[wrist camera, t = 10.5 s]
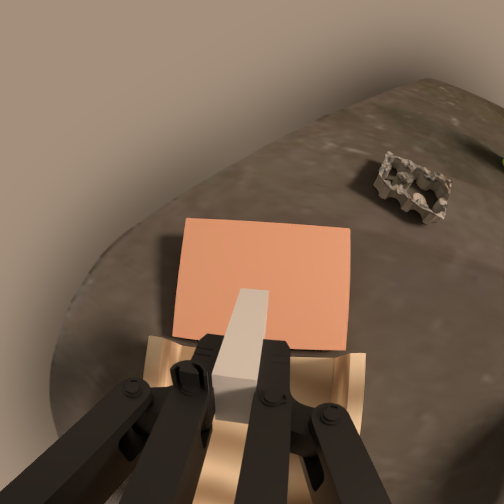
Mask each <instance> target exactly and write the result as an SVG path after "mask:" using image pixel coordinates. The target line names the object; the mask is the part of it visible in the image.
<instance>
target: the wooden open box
mask: <svg viewBox="0 0 504 504" xmlns="http://www.w3.org/2000/svg"><path fill="white" fill-rule="evenodd" d="M195 349H196V348H195V347H188V346H182V345H179V344H177V343H175V342H172V341H170V340H167V339H165V338H161V337H156V336H150V335H149V339H148V346H147V352H146V359H145V367H144V374H143V380H145V381H146V382H147V383H148V384H149V386H150V387H167V386H171V385H173V383H172V379H171V374H170V368H171V367H172V366H173V364H175V363H177V362H179V361H184V360H191V358H192V356H193V355H194V351H195ZM365 360H366V353H350V354H346V355H343V356H339V357H336V358H308V357H290V393H291V395H292V397H293V398H294V399H295V400H296V401H298V402H299V403H301V404H304V405H307V406H310V407H313V408H315V407H317V406H318V405H320V404H323V403H335V404H339V405H341V406H342V407H344V408H345V409H346V410H347V412H348V413H349V415H350V417H351V419H352V421H353V423H354V425H355V427H356V429H357V431H358V433H359V436H360V428H361V419H362V409H363V397H364V382H365ZM212 424H213V431H212V435H211V438H210V442H209V446H208V449H207V453H206V457H205V460H204V464H203V467H202V471H201V475H200V478H199V482H198V485H197V489H196V493H195V496H194V500H193V503H192V504H234V501H235V495H236V490H237V485H238V480H239V474H240V469H241V463H242V458H243V452H244V446H245V441H246V435H247V429H248V424H244V423H236V422H229V421H222V420H216V419H215V415H214V418H213V422H212ZM287 504H313V503H312V500H311V497H310V493H309V490H308V486H307V483H306V480H305V476H304V473H303V469H302V466H301V463H300V459H299V456H298V455H296V454H293V453H290V460H289V478H288V494H287Z"/></svg>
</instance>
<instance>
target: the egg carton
mask: <svg viewBox="0 0 504 504" xmlns="http://www.w3.org/2000/svg"><path fill="white" fill-rule="evenodd" d="M383 161H384V162H383V163H382V166H381V167H380V169H379V174H378V177H377V179H376V181H375V183H374V187H375V188H376V189H377V190H378V192H379V197H381V198H383V199H386V198H388V197H394V198H395V199H397V200H398V201H399V202H400V205H401V209H402V210H404V211H405V212H408V211H409V210H416V211H417V212H419V213H420V215H421V217H422V222H423V223H425V224H427V225H429V224H430V222H435V223H436V222H438V220H439V219H440V218H442V219H443V220H444V217H445V213H446V212H445V211H446V208H447V200H448V197H449V194H450V190H451V185H452V184H451V183H452V181H451V180H449V179H448V178H447V177H446V176H443V175H442V174H441V173H438V172H436V171H434V172H430V171H429V170H427V169H426V168H425V167H420V166H418V165H416V164H414V163H413V162H412V161H410V160H407V159H404V158H400V157H398V156H395V155H394V154H393V153H391V152H387V154H386V156H385V159H384V160H383ZM392 167H393V168H395V169H397V175H396V177H395V178H394V179H393V182H392V185H391V182H390V181H389V180H385V179H386V178H387V176H388V174H389V172H390V170H391V168H392ZM413 179H414V180H416V182H417V185H418V186H419V187H420V188H421V189H422V190H425V191H427V190H429V189H431V190H432V191H434V192H435V195H436V197H437V198H438V200H437V202H436V203H435V204H434V205H433V207H432V210H430V209H429V208H428V204H426V200H425V198H424V196H422V195H421V194H420V193H414V194H413V199H412V198H411V196H410V195H409V194H407V193H408V192H407V190H408V188H409V187H410V185H411V184H412V182H413ZM409 197H410V198H411V199H409Z"/></svg>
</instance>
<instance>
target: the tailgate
mask: <svg viewBox="0 0 504 504" xmlns="http://www.w3.org/2000/svg"><path fill="white" fill-rule="evenodd" d="M241 288H246V289H258V290H269V297H268V310H267V322H266V333H265V339H269V340H281V341H286V342H287V344H288V346H289V347H290V349H308V350H346V339H347V326H348V311H349V290H350V229H348V228H337V227H325V226H312V225H299V224H285V223H270V222H254V221H236V220H217V219H195V218H186V224H185V230H184V237H183V244H182V251H181V259H180V267H179V275H178V283H177V292H176V302H175V312H174V324H173V336H174V337H180V338H187V339H194V340H200V339H201V338H202V337H203V336H205V335H206V334H207V333H209V334H216V335H224V336H225V333H226V330H227V327H228V324H229V321H230V318H231V316H232V313H233V310H234V307H235V304H236V301H237V298H238V295H239V292H240V289H241Z"/></svg>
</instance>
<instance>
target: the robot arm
mask: <svg viewBox="0 0 504 504" xmlns="http://www.w3.org/2000/svg"><path fill="white" fill-rule="evenodd" d="M268 297H269V290H258V289H246V288H241V289H240V292H239V295H238V298H237V301H236V304H235V307H234V310H233V313H232V316H231V318H230V321H229V324H228V327H227V330H226V333H225V336H224V335H216V334H209V333H207V334H206V335H205V336H203V337H202V338H201V339H200V340H199V342H198V345H197V347H196V349H195V351H194V355H193V356H192V358H191V360H184V361H179V362H177V363H175V364H173V366H172V367H171V368H170V374H171V379H172V383H173V385H171V386H167V387H150V386H149V384H148V383H147V382H146V381H145V380H143V379H140V378H129V379H125V380H124V381H122V382H120V383H119V384H118V385H117V386H116V387H115V388H114V389H113V390H112V391H111V392H109V393H108V394H107V395H106V396H105V397H104V398H103V399H102V400H101V401H100V402H99V403H97V404H96V405H95V406H94V407H93V408H92V409H91V410H90V411H89V412H88V413H87V414H85V415H84V416H83V417H82V418H81V419H80V420H79V421H78V422H77V423H76V424H75V425H73V426H72V427H71V428H70V429H69V430H68V431H67V432H66V433H65V434H64V435H62V436H61V437H60V438H59V439H58V440H57V441H56V442H55V443H54V444H53V445H52V446H51V447H49V448H48V449H47V450H46V451H45V452H44V453H43V454H42V455H40V456H39V457H38V458H37V459H36V460H35V461H34V462H33V463H32V464H31V465H30V466H28V467H27V468H26V469H25V470H24V471H23V472H22V473H21V474H20V475H18V476H17V477H16V478H15V479H14V480H13V481H12V482H10V483H9V484H8V485H7V486H6V487H5V488H4V489H3V490H2V491H1V492H0V504H104V503H105V502H106V501H107V500H108V499H109V497H110V496H111V495H112V494H113V493H114V492H115V491H116V489H117V488H118V487H119V486H120V485H121V484H122V482H123V481H124V480H125V479H126V478H127V477H128V475H129V474H130V473H131V472H132V471H133V470H134V471H133V473H132V475H131V478H130V480H129V482H128V484H127V487H126V489H125V491H124V493H123V496H122V498H121V500H120V503H119V504H192V503H193V500H194V496H195V493H196V489H197V485H198V482H199V478H200V475H201V471H202V467H203V464H204V460H205V457H206V453H207V449H208V446H209V442H210V438H211V435H212V431H213V424H212V422H213V418H214V415H215V419H216V420H222V421H229V422H236V423H244V424H248V429H247V435H246V441H245V446H244V452H243V458H242V463H241V469H240V474H239V480H238V485H237V490H236V495H235V501H234V504H287V494H288V478H289V460H290V453H293V454H296V455H298V456H299V459H300V463H301V466H302V469H303V473H304V476H305V480H306V483H307V486H308V490H309V493H310V497H311V500H312V503H313V504H391V501H390V499H389V497H388V495H387V493H386V491H385V488H384V486H383V484H382V482H381V480H380V478H379V476H378V473H377V471H376V469H375V467H374V465H373V463H372V461H371V459H370V456H369V454H368V452H367V450H366V448H365V446H364V444H363V442H362V440H361V438H360V436H359V433H358V431H357V429H356V427H355V425H354V423H353V421H352V419H351V417H350V415H349V413H348V412H347V410H346V409H345V408H344V407H342V406H341V405H339V404H335V403H323V404H320V405H318V406H317V407H315V408H313V407H310V406H307V405H304V404H301V403H299V402H298V401H296V400H295V399H294V398H293V397H292V395H291V393H290V347H289V346H288V344H287V342H286V341H281V340H269V339H265V333H266V322H267V310H268ZM134 468H135V469H134Z"/></svg>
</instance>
